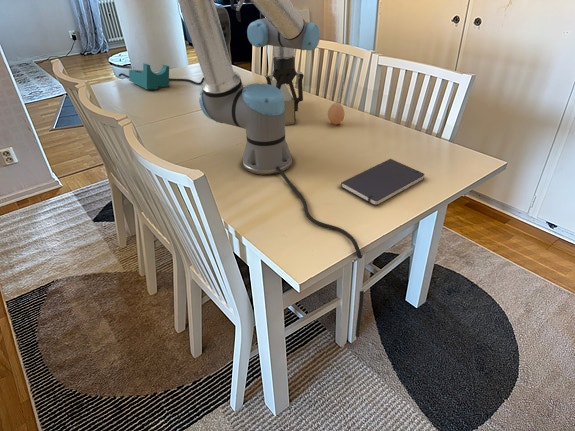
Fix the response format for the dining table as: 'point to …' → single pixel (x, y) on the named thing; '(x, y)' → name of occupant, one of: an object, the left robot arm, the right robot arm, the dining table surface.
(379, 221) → the dining table surface
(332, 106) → the egg
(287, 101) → the bar
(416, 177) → the notebook
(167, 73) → the teal notched block
